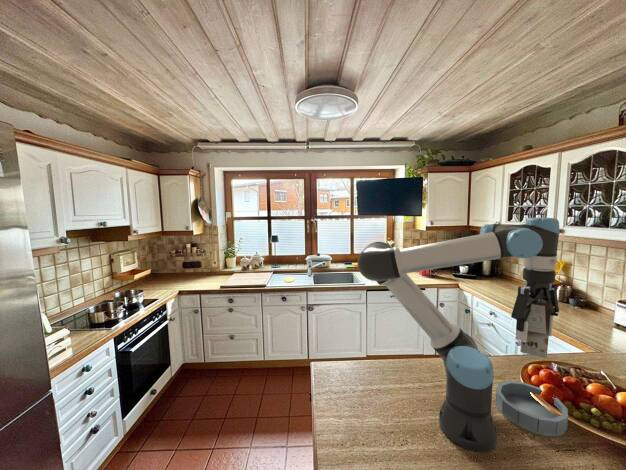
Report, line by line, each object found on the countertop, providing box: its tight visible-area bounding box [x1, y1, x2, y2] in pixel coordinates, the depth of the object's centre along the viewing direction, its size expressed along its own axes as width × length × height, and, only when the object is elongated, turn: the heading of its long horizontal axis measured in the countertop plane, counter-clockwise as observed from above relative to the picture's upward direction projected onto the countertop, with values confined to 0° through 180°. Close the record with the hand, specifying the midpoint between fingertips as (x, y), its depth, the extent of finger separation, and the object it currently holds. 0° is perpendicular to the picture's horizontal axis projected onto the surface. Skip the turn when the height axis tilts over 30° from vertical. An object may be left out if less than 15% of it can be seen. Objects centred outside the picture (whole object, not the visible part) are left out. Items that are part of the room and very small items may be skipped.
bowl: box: [495, 380, 569, 438], centre depth 85 cm, size 17×17×5 cm
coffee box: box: [519, 298, 551, 359], centre depth 82 cm, size 9×6×16 cm
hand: (533, 337), depth 83 cm, fingers closed on coffee box, 11 cm apart
